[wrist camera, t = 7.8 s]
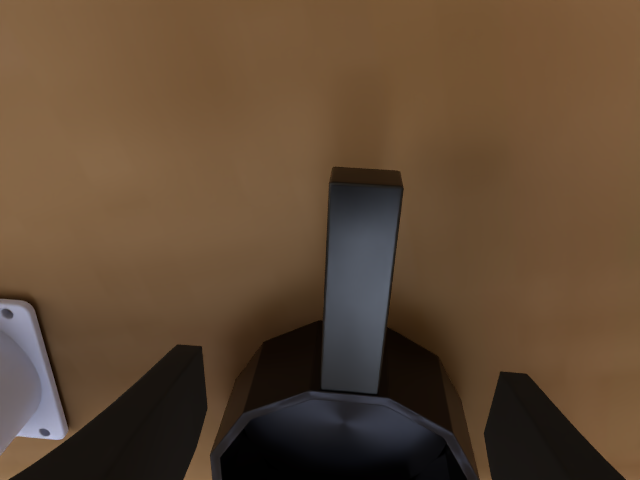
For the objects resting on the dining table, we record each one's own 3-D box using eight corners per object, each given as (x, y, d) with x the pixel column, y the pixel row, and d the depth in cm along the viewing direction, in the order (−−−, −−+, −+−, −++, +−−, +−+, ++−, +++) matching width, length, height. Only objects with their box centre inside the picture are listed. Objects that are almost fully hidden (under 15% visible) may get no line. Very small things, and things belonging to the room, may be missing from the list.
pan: (439, 494, 24) (452, 582, 20) (240, 474, 24) (219, 556, 21) (516, 153, 16) (560, 197, 12) (221, 136, 17) (181, 173, 13)
